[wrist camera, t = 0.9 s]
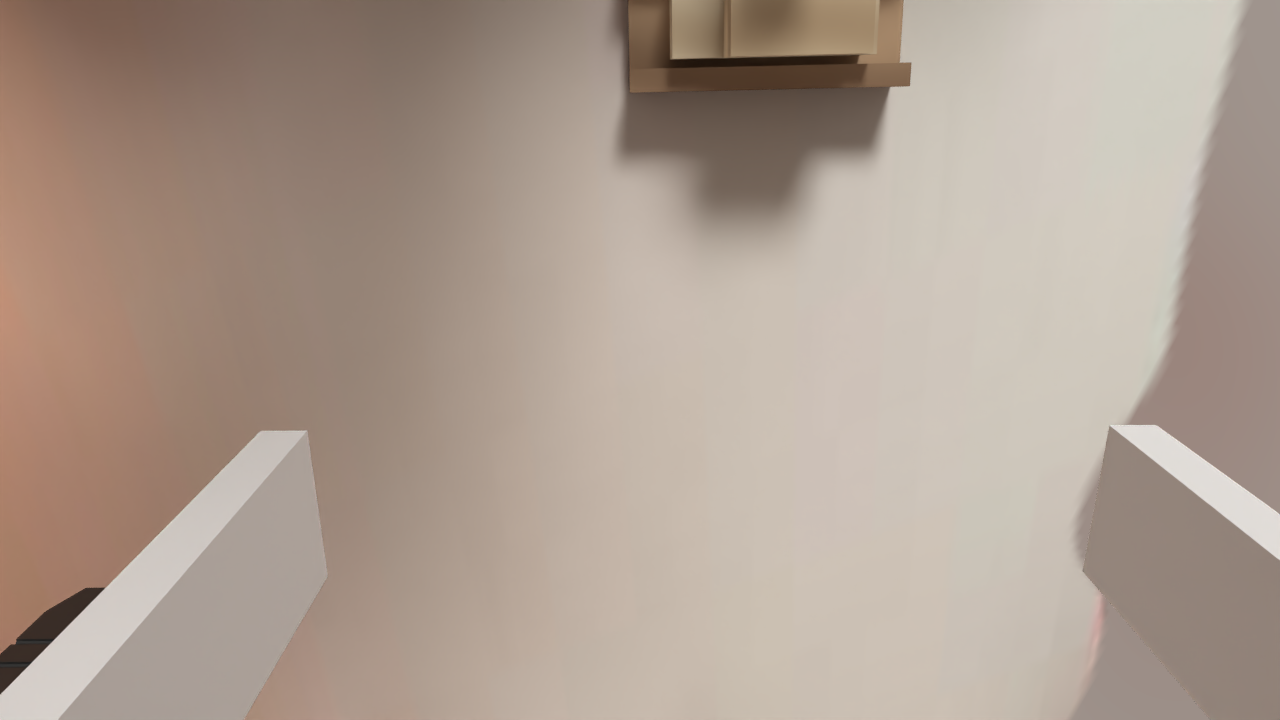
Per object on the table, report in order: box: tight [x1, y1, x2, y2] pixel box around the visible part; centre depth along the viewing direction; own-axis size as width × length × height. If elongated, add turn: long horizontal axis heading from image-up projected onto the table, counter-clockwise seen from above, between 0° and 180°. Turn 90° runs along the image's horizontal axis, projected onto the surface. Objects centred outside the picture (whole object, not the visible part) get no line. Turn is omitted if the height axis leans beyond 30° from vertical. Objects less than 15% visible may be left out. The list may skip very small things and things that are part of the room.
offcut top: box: [723, 0, 876, 58], centre depth 29 cm, size 3×4×2 cm, turn 91°
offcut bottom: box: [669, 0, 880, 60], centre depth 31 cm, size 3×7×2 cm, turn 91°
